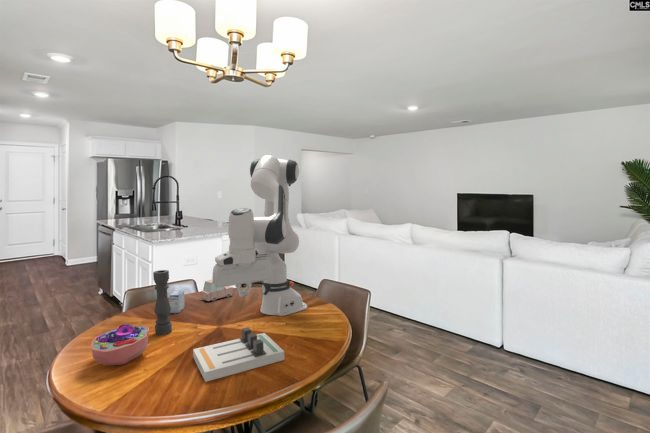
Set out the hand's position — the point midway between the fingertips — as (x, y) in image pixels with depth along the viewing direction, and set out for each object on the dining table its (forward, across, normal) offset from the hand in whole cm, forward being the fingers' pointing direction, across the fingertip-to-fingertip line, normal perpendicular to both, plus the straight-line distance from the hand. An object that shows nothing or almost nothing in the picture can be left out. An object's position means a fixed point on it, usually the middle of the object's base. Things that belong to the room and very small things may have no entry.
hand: (243, 295), depth 121 cm
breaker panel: (+21, +3, +2) cm, 21 cm away
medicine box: (+22, +13, -61) cm, 66 cm away
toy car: (+22, -9, -70) cm, 74 cm away
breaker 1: (+18, -2, -4) cm, 18 cm away
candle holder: (+21, +22, -36) cm, 47 cm away
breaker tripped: (+18, -2, +2) cm, 18 cm away
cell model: (+21, +37, -18) cm, 46 cm away
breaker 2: (+18, -2, +8) cm, 20 cm away
